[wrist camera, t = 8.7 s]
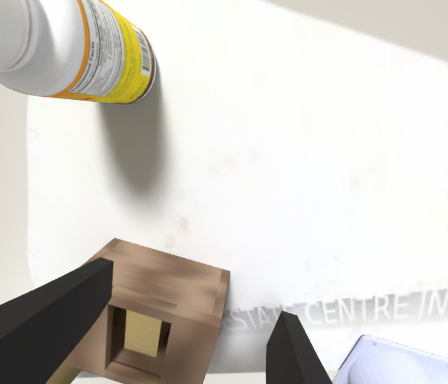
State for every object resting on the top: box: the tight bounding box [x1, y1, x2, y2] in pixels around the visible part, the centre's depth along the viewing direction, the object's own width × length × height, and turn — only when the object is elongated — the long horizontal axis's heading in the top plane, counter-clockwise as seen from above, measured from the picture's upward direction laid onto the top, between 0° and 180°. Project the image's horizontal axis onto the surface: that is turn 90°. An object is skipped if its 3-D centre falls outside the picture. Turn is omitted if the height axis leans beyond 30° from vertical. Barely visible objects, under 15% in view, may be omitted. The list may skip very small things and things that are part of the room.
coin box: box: [68, 238, 230, 384], centre depth 20 cm, size 12×10×6 cm
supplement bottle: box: [0, 0, 156, 104], centre depth 11 cm, size 6×6×10 cm
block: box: [124, 310, 170, 357], centre depth 20 cm, size 3×5×5 cm, turn 168°
